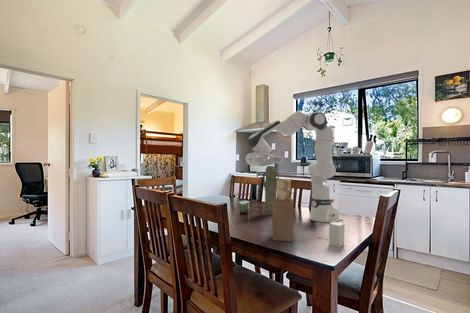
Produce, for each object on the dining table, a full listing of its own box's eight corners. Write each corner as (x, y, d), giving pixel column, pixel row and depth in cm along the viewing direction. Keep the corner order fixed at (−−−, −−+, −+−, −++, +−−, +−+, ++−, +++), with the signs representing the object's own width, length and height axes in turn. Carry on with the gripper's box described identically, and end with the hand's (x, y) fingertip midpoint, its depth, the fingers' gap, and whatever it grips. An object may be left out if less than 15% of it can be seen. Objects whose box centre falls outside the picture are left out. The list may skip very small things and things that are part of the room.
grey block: (334, 242, 124) (334, 221, 124) (344, 244, 120) (344, 223, 120) (329, 244, 121) (329, 223, 121) (339, 247, 117) (339, 225, 117)
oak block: (284, 198, 132) (284, 179, 132) (290, 199, 128) (290, 179, 128) (276, 198, 130) (276, 179, 130) (282, 200, 125) (282, 180, 125)
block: (293, 242, 123) (293, 201, 123) (272, 241, 125) (272, 200, 125) (292, 236, 133) (293, 198, 133) (273, 235, 135) (273, 197, 135)
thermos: (263, 212, 190) (264, 165, 190) (279, 213, 186) (279, 166, 186) (260, 214, 182) (261, 166, 182) (277, 216, 178) (277, 166, 178)
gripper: (247, 154, 154) (259, 153, 141) (275, 154, 163) (288, 154, 150) (247, 164, 154) (259, 165, 141) (274, 164, 163) (288, 165, 150)
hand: (274, 159), depth 146 cm, fingers open, 8 cm apart
